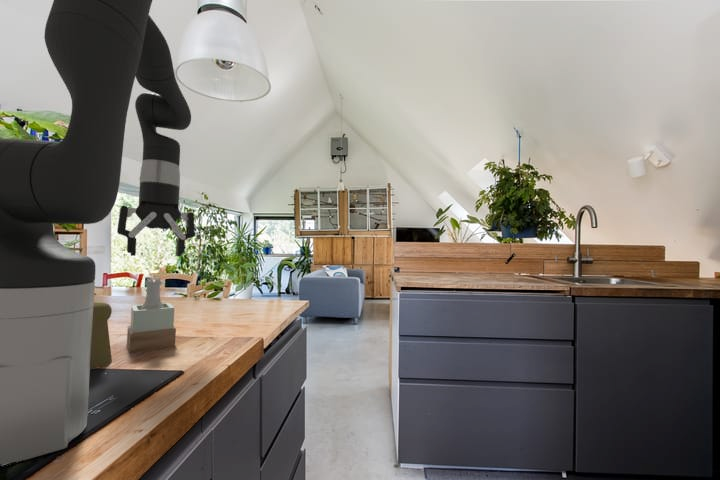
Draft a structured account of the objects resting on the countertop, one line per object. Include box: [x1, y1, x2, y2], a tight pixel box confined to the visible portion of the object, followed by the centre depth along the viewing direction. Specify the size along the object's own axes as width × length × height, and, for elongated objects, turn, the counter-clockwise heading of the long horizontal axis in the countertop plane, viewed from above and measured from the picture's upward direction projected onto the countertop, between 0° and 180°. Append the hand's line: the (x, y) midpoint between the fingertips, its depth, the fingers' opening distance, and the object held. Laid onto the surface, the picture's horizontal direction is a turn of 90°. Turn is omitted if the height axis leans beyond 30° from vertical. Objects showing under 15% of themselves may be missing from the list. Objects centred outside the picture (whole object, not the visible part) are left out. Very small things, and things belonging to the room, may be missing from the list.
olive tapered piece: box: [90, 302, 113, 371], centre depth 56 cm, size 6×6×11 cm
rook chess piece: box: [141, 277, 164, 310], centre depth 68 cm, size 4×4×8 cm
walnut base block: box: [126, 324, 177, 354], centre depth 68 cm, size 8×8×4 cm
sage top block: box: [130, 302, 175, 333], centre depth 68 cm, size 7×7×4 cm
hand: (156, 255), depth 69 cm, fingers open, 8 cm apart
